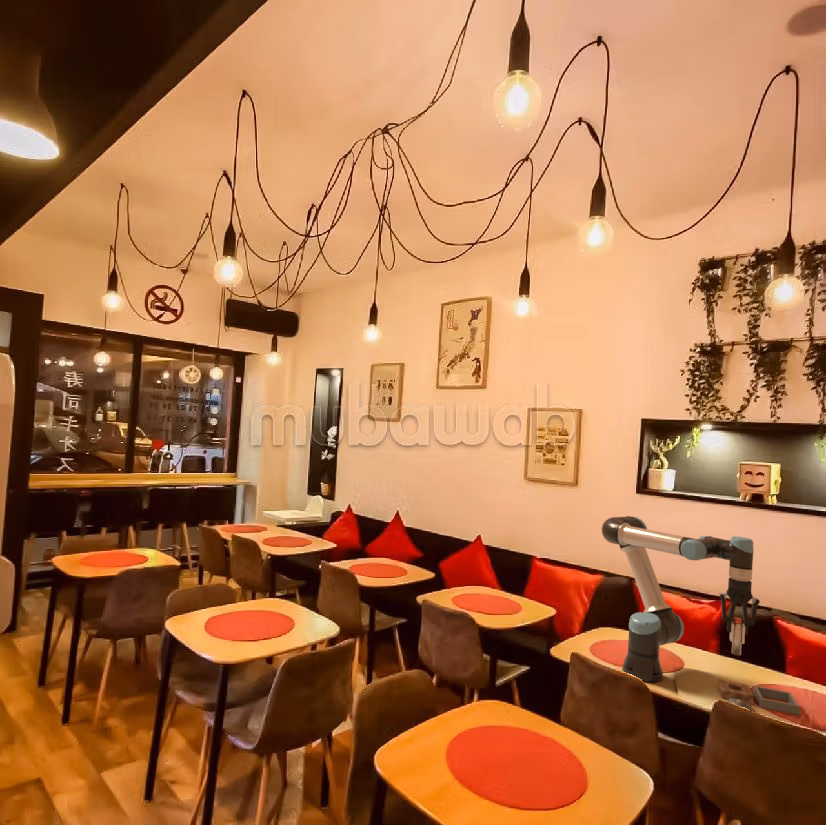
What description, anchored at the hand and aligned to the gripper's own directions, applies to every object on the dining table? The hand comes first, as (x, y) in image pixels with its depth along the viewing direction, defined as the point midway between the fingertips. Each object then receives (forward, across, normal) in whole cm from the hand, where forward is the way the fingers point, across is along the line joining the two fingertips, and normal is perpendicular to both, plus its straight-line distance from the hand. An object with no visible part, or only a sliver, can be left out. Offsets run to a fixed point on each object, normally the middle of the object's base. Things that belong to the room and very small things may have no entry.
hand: (736, 641), depth 211 cm
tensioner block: (+21, 0, -4) cm, 21 cm away
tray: (+21, +13, 0) cm, 25 cm away
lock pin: (+5, 0, 0) cm, 5 cm away
